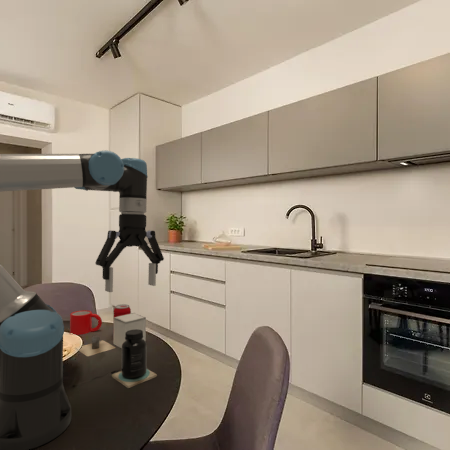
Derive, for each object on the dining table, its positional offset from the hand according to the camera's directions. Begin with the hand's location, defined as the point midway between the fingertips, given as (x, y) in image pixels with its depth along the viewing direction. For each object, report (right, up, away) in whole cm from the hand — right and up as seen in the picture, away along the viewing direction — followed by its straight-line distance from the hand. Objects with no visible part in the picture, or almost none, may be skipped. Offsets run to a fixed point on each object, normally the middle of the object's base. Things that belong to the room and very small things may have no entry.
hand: (131, 288), depth 90 cm
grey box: (-7, -25, +22) cm, 34 cm away
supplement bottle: (+1, -24, -1) cm, 24 cm away
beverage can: (-12, -25, +30) cm, 41 cm away
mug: (-28, -25, +35) cm, 51 cm away
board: (-18, -25, +18) cm, 35 cm away
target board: (+1, -25, -1) cm, 25 cm away
